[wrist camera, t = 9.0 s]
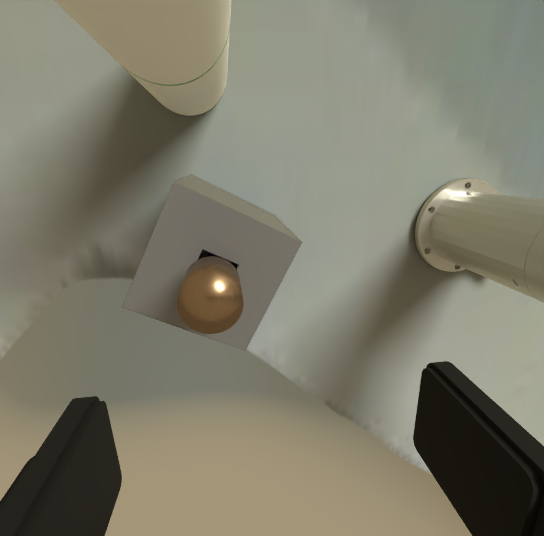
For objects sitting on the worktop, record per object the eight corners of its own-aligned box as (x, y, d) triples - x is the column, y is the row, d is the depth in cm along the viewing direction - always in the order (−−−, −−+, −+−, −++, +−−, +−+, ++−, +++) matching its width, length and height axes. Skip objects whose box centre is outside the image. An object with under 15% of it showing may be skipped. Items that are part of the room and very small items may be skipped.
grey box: (274, 214, 41) (302, 242, 27) (237, 290, 43) (245, 350, 29) (191, 174, 38) (173, 181, 24) (156, 257, 40) (122, 307, 27)
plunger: (258, 222, 40) (291, 275, 21) (231, 278, 41) (240, 372, 23) (198, 194, 38) (175, 224, 19) (172, 253, 39) (128, 334, 21)
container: (180, 3, 33) (-59, -922, 5) (243, 73, 36) (323, -263, 8) (126, 70, 34) (-328, -370, 6) (191, 133, 37) (91, 36, 9)
